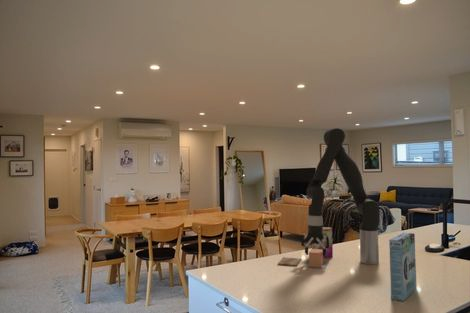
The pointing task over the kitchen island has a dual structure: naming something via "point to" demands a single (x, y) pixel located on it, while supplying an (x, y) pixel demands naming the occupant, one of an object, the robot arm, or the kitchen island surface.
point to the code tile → (316, 267)
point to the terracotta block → (316, 258)
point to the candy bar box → (328, 250)
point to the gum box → (402, 266)
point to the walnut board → (289, 261)
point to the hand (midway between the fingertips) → (315, 255)
